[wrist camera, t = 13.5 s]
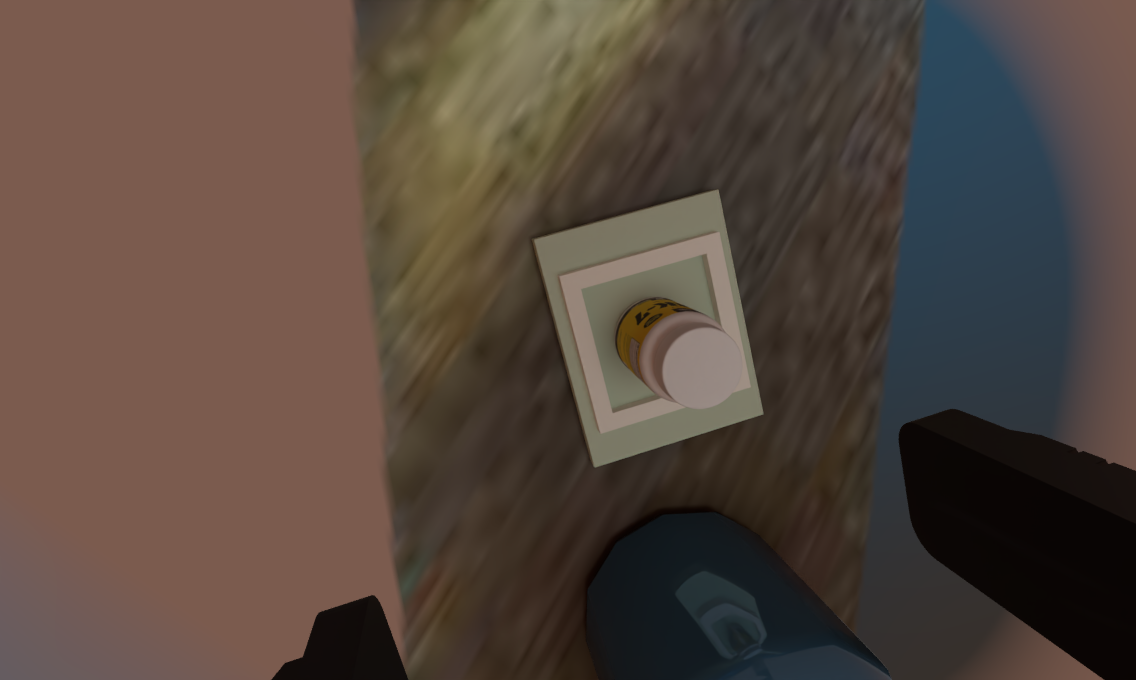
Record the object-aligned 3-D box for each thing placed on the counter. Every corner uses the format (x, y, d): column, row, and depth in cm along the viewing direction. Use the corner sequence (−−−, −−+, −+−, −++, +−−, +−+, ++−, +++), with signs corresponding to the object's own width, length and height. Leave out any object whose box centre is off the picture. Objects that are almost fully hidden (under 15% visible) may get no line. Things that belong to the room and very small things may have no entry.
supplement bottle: (686, 288, 39) (747, 310, 31) (695, 366, 40) (757, 406, 32) (606, 303, 39) (648, 329, 31) (617, 382, 40) (661, 427, 32)
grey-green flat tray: (531, 238, 38) (535, 240, 37) (710, 190, 40) (723, 188, 38) (590, 460, 42) (597, 472, 40) (754, 408, 43) (769, 417, 41)
